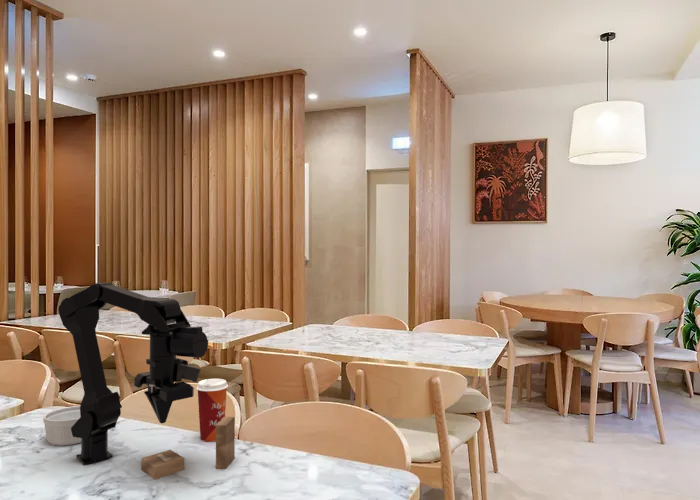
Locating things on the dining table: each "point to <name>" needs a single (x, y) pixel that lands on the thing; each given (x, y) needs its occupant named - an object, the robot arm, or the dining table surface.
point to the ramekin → (62, 425)
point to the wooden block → (225, 442)
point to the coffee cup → (211, 406)
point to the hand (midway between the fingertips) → (162, 422)
